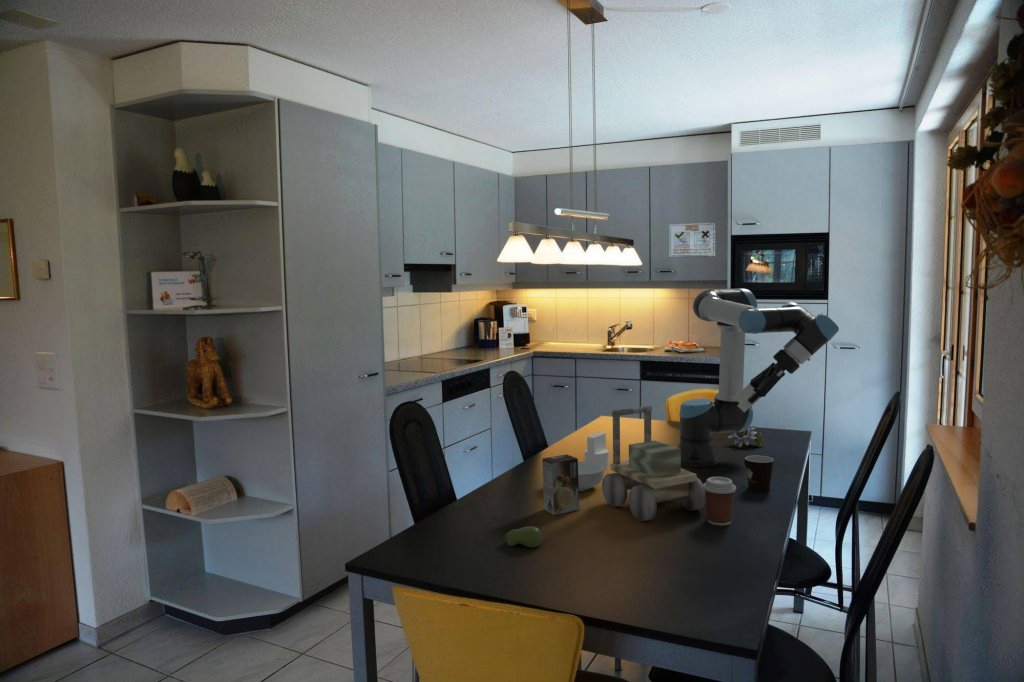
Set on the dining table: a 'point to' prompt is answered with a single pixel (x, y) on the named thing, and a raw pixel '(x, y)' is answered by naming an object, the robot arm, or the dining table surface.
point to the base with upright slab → (597, 450)
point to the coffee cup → (719, 500)
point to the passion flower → (746, 437)
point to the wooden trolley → (649, 473)
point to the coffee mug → (759, 472)
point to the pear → (524, 536)
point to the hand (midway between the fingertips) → (738, 404)
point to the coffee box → (560, 484)
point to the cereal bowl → (589, 475)
